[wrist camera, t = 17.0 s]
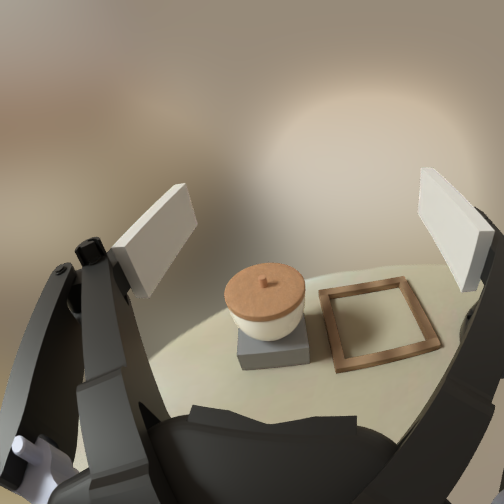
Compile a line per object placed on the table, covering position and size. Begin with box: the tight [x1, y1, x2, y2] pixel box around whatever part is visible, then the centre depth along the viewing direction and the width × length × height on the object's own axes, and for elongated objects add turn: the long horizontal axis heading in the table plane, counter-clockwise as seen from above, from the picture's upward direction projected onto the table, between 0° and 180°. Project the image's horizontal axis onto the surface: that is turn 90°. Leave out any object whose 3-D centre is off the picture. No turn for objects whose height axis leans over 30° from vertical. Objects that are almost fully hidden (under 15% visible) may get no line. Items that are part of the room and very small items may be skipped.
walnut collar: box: [319, 276, 441, 373], centre depth 42 cm, size 17×17×1 cm
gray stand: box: [237, 312, 310, 370], centre depth 43 cm, size 10×10×4 cm
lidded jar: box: [224, 263, 305, 341], centre depth 39 cm, size 11×11×9 cm
